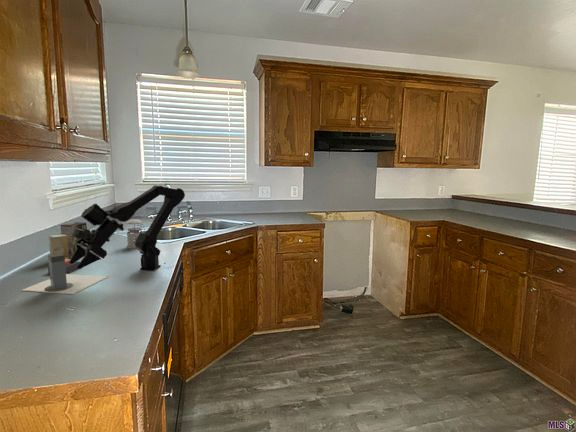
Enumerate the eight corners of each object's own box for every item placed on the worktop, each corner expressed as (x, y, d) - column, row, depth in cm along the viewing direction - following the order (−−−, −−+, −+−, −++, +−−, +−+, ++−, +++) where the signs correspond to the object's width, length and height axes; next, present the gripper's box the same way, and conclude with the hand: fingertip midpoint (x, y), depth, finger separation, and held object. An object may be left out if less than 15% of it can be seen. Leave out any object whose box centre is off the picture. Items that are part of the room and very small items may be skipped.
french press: (121, 247, 179) (119, 202, 175) (136, 242, 190) (134, 200, 186) (136, 249, 176) (133, 203, 172) (151, 244, 187) (149, 201, 183)
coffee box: (78, 252, 167) (76, 221, 164) (89, 253, 165) (87, 222, 163) (62, 257, 158) (60, 224, 155) (74, 258, 156) (71, 225, 154)
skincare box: (53, 263, 148) (51, 237, 146) (50, 261, 151) (47, 235, 149) (69, 260, 153) (67, 235, 151) (66, 258, 156) (64, 233, 154)
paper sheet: (107, 277, 131) (107, 276, 131) (73, 294, 114) (73, 293, 113) (62, 274, 134) (62, 273, 134) (22, 290, 116) (21, 289, 116)
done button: (72, 266, 140) (72, 259, 140) (65, 269, 136) (64, 262, 135) (64, 265, 140) (63, 258, 140) (55, 268, 136) (55, 261, 136)
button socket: (80, 268, 142) (80, 261, 141) (65, 274, 134) (65, 267, 134) (63, 267, 143) (63, 260, 142) (48, 273, 135) (47, 266, 135)
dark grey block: (67, 287, 119) (64, 255, 117) (53, 289, 116) (51, 257, 114) (64, 284, 122) (61, 253, 120) (51, 287, 119) (48, 255, 117)
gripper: (78, 217, 129) (47, 249, 123) (95, 223, 117) (61, 259, 111) (101, 233, 136) (73, 264, 130) (119, 241, 124) (89, 275, 118)
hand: (74, 265), depth 122 cm, fingers open, 9 cm apart
